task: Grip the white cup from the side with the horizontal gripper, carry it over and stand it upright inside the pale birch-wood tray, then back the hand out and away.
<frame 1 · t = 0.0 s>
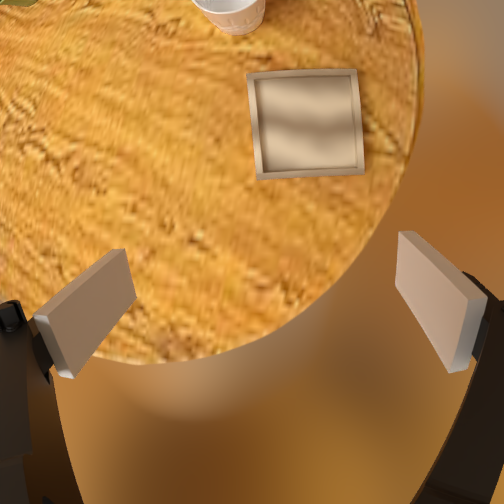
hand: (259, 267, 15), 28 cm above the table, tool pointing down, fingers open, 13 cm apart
white cup: (238, 14, 34), on the table
birch tray: (305, 123, 38), on the table
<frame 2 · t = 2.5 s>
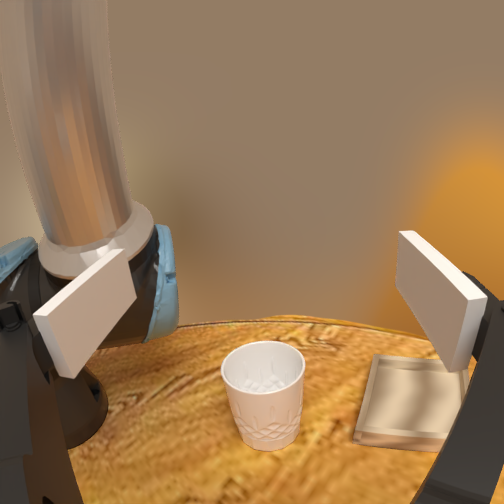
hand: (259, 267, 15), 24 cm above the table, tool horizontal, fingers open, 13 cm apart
white cup: (269, 430, 33), on the table
birch tray: (415, 407, 31), on the table
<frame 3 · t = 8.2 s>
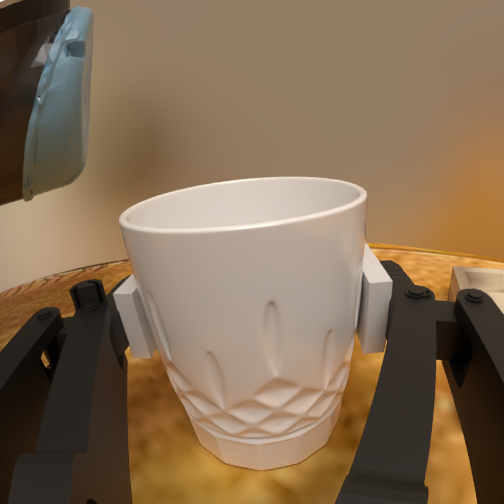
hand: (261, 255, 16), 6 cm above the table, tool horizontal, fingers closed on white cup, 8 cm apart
white cup: (265, 416, 14), on the table, touching gripper
when the fingers open (8 cm above the table, at t = 14.9 s): white cup drops 1 cm, resting on birch tray.
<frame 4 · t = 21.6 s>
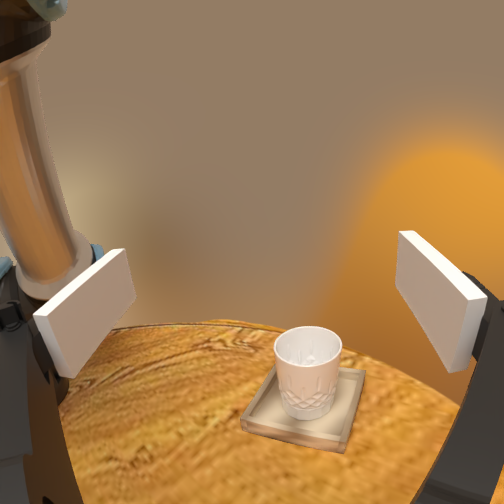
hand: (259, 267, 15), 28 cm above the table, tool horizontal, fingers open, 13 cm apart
white cup: (307, 403, 39), point 1 cm above the table, touching birch tray
birch tray: (307, 407, 40), on the table
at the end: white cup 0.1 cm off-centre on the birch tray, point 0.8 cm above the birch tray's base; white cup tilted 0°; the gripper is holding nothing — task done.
